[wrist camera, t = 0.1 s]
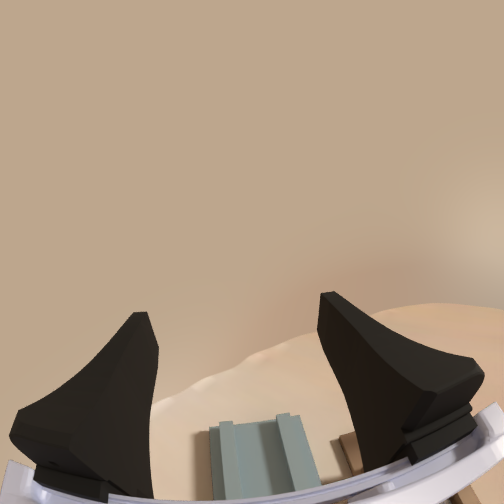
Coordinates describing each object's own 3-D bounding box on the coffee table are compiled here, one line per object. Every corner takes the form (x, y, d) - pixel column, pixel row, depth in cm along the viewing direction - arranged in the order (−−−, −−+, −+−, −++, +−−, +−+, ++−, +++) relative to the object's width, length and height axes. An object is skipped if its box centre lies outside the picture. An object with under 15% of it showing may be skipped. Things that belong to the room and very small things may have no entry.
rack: (327, 508, 17) (331, 501, 17) (217, 525, 17) (212, 519, 16) (298, 419, 29) (300, 406, 28) (210, 431, 28) (206, 419, 27)
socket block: (477, 539, 8) (500, 528, 6) (396, 587, 7) (415, 585, 5) (407, 415, 26) (418, 394, 25) (338, 439, 25) (344, 420, 24)
